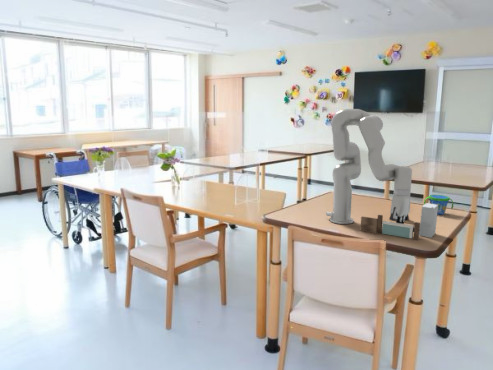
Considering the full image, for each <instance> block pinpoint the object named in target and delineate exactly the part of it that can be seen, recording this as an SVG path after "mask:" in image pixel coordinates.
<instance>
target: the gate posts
mask: <svg viewBox="0 0 493 370" xmlns="http://www.w3.org/2000/svg"><path fill="white" fill-rule="evenodd" d="M383 218H384V217H383V215H382V214H378V215H377V218H375V217H368V216H361V217H360V231H361V232H368V233H375V234H377V233H378V234H379V235H382V234H383V233H382V227H383V224H382V221H384V220H383ZM419 231H420V222H418V221H417V222H416V221H415V222H414V228H413V238H412V239H414V240H413V241H419V240H420V235H419ZM381 233H382V234H381ZM418 239H419V240H418Z"/></svg>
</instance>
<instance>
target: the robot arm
mask: <svg viewBox="0 0 493 370" xmlns="http://www.w3.org/2000/svg"><path fill="white" fill-rule="evenodd" d="M349 126H358V130H359V131H360V133H361V136H362V138H363V141H364V143H365V144H366V147H367V149H368V151H367V152H368V153H367V157H368V164H369V167H370V170H371V173H372V175H373V176H374V177H375V179H376V180H378V181H379V182H387V181H392V180H394V183H393V186H394V187H393V195H392V199H391V204H390V215H393V219H396V221H395V223H401V224H405V222H406V220H405V217H406V216H407V215H408V216H409V214H410V213H411V212H410V211H411V190H412V178H413V177H412V175H413V169H412V168H411V167H410V166H404V165H402V166H401V165H396V164H385V162H384V159H383V154H382V153H383V149H384V147H385V144H386V142H385V140H384V137H383V135H382V133H381V131H382V129H383V127H384V123H383V120H382V119H381V117H379V116H378V115H375V114H373V113H370V112H368V111H365V110H363V109H360V108H345V109H341V110H339V111H337V112H336V113H334V114H333V117H332V119H331V133H332V142H333V143H332V144H333V145H332V146H333V147H332V148H333V157H334V158H335V159H336V161H339V162H343V163H339V164H337V165H336V166H334V168H333V169H332V181H333V199H332V200H333V202H332V204H333V205H332V206H333V207H332V211H331V212H330V211H325V214H326V216H327V217H329V221H330V222H331V223H333V224H338V225H349V224H352V223H354V218H352V216H351V215H352V200H353V199H352V198H353V195H352V194H353V189H352V183H351V181H352V180H355V179H357V178H359V176H361V172H362V163H361V162H362V161H361V151H360V147H359V146H358V144H357V143H355V142H352V141H350V132H349V130H348V127H349Z"/></svg>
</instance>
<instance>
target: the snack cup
mask: <svg viewBox="0 0 493 370" xmlns="http://www.w3.org/2000/svg"><path fill="white" fill-rule="evenodd" d="M428 199H429V204H436V205H438V212H437V216H438V215H439V216H440V215H441V216H442V215H444V214H446V210H447V206H448V203H449V201H451V203H452V204H451V210H453V208H454V201H453V199H452V198H450V197H449V196H447V195H443V194H431V195H429V196H426V198H424V201H423V205H424V204H426V203H427V201H426V200H428Z"/></svg>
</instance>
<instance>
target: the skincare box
mask: <svg viewBox="0 0 493 370" xmlns="http://www.w3.org/2000/svg"><path fill="white" fill-rule="evenodd" d="M437 212H438V205H436V204H430V202H425V204H424V203H423V205H422V206H421V215H420V221H419V223H420V231H419V237H420V236H421V237H425V238H430V239H431V238H433V236H435V234H436V229H437V221H438V220H437V218H438V215H437Z"/></svg>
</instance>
